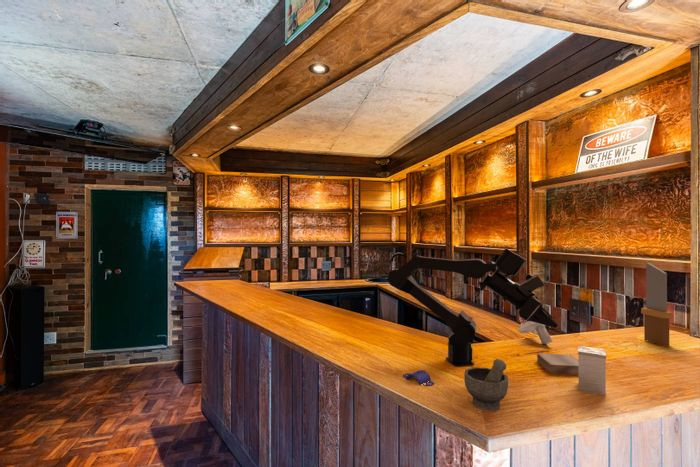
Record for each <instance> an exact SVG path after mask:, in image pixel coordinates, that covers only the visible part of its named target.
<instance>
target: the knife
mask: <svg viewBox="0 0 700 467" xmlns="http://www.w3.org/2000/svg"><path fill="white" fill-rule="evenodd" d="M645 265H646V268H645V269H646V270H645V271H646V272H645V273H646V274H645V275H646V276H645V278H646V280H645V282H646V284H645V285H646V288H645V289H646V298H645V299H646V300H645V302H646V307H641V309H640V312H641V315H643V317H644V324H643V325H644V329H643V330H644V332H643V333H644V336H643V338H644V340H643V341H645V340H648V341H651V342H654V343H653V344H655V343H657V344H656V345H658V344H660V345H659V346H662V345H669V346H670V319H673V318H674V317H673V314H674V312H671V311H668V273H667V272H666V271H664V270H662V269H660V268H659V267H657V266H655V265H653V264H652V263H650V262H645ZM648 341H647V342H648ZM651 342H650V343H651Z"/></svg>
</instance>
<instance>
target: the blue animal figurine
mask: <svg viewBox="0 0 700 467" xmlns="http://www.w3.org/2000/svg"><path fill="white" fill-rule="evenodd" d="M406 375H407V376H406ZM402 377H403V379H405V380H406V379H407V380H406V381H408V380H410V379H413V378H414V379H416V381H417V382H418V384H420V385H419V386H421V384H423V383H426V386H425V385H424V384H423V385H422V386H425V387H432V386H434V385H435V382H434V381H432V379H431V376H430V374H429V373H428V372H427V371H426V370H423V369H419V370H417V371H415V372H412V373H404V374H403V375H402ZM412 377H413V378H412ZM428 381H429V382H428ZM427 382H428V384H427Z"/></svg>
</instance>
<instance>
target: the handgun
mask: <svg viewBox="0 0 700 467" xmlns="http://www.w3.org/2000/svg"><path fill="white" fill-rule="evenodd" d="M531 332H532V334H533V335H535V336H538V337H539V340H540V344H541V345H548V344H550V343H552V342H553V339H552V337H551V335H550V334H549V331H548V330H547V328H546V325H543V324H539V323H536V322H532V321H527V322H524V323H523V322H521V323H520V325H519V329H518V333H519V334H529V333H531Z"/></svg>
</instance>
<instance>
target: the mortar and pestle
mask: <svg viewBox="0 0 700 467" xmlns="http://www.w3.org/2000/svg"><path fill="white" fill-rule="evenodd" d="M506 370H507V363H506V362H505V361H504V360H502V359H500V358H495V359H494V360H493V362H492V366H491V368H488V367H477V366H476V367H473V366H472V367H470V368H467V369H465V370H464V377H463V378H464V379H463V380H464V385H465V388H466V390H467V392H468V394H470V395H471V396H472V399H471V400H472V401H471V402H472V403H471V404H472V405H473V406H474V407H475V408H477V409H480V410H483V411H484V412H485V411H488V412H489V411H490V412H495V411H497V410H500V408H501V407H500V406H501V405H500V404H501V403H500V402H501V401H502V400H503V399H505V397H506V396H507V394H508V390H509V377H508V375H507V374H505V373H504V371H506Z"/></svg>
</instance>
